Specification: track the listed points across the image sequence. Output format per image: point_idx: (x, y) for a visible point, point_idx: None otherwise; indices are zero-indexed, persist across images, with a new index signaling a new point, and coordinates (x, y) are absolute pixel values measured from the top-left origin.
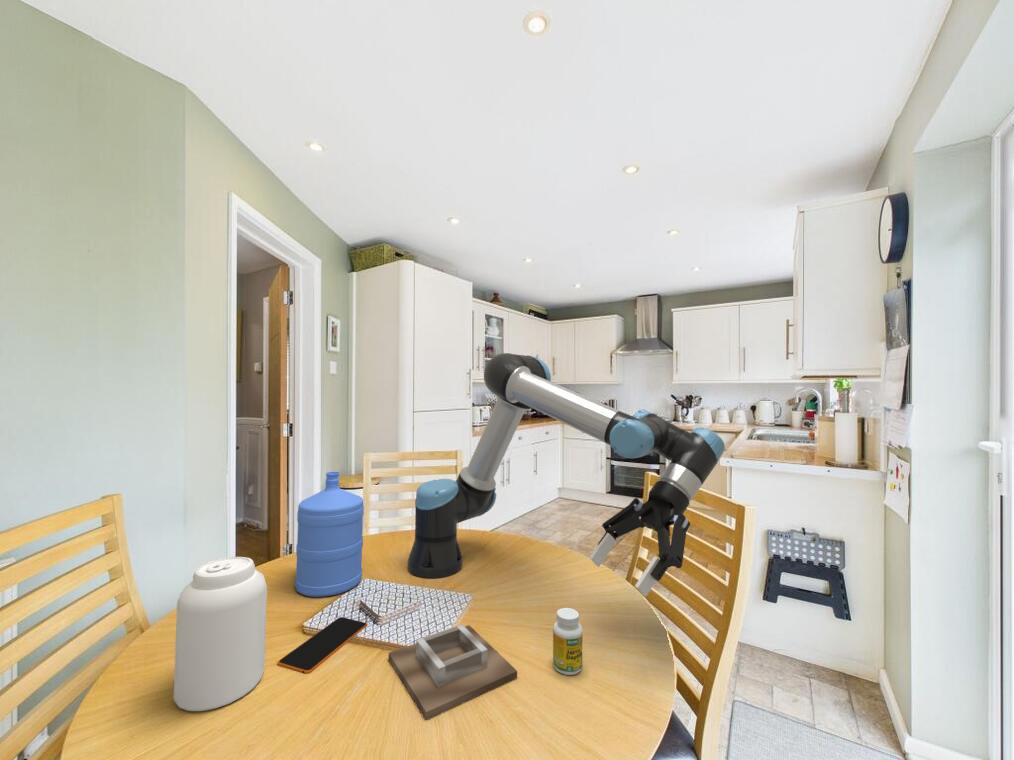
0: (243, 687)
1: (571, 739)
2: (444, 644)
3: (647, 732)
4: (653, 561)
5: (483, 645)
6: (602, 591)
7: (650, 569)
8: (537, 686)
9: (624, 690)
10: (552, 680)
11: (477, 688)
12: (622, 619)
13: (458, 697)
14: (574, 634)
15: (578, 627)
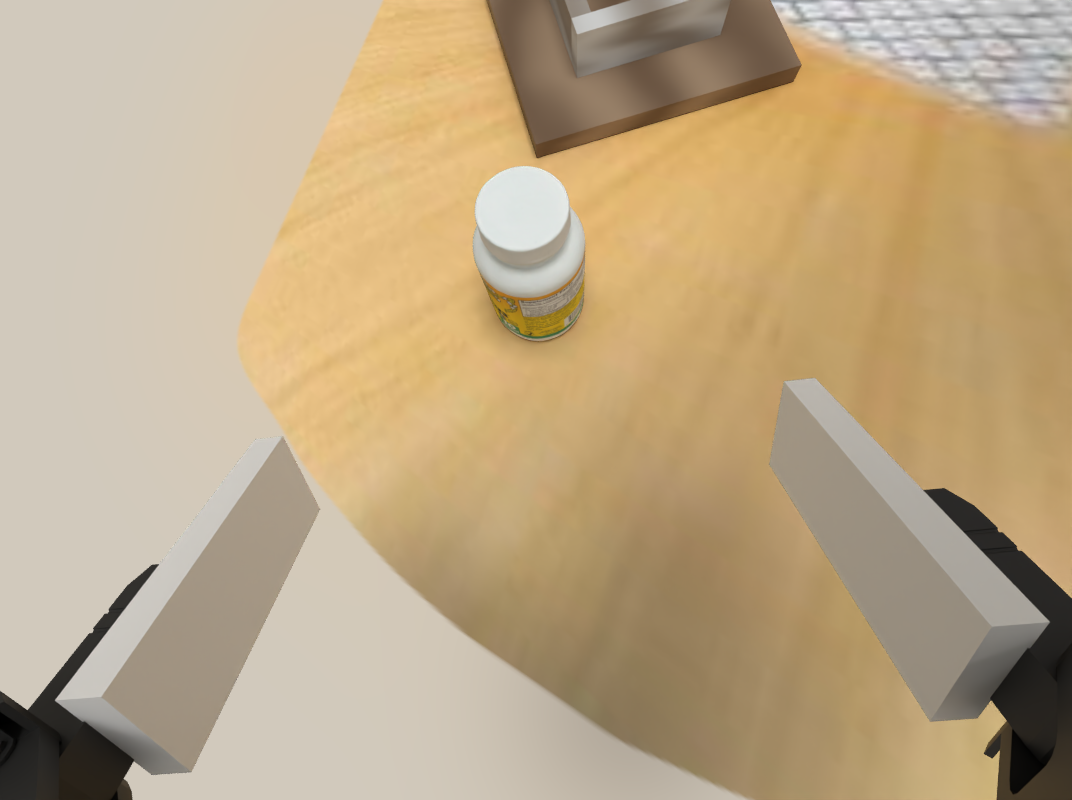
0: None
1: (318, 209)
2: None
3: (265, 377)
4: (118, 638)
5: (600, 27)
6: None
7: (162, 569)
8: None
9: (397, 405)
10: None
11: (503, 43)
12: (744, 643)
13: (490, 3)
14: (473, 240)
15: (493, 261)
